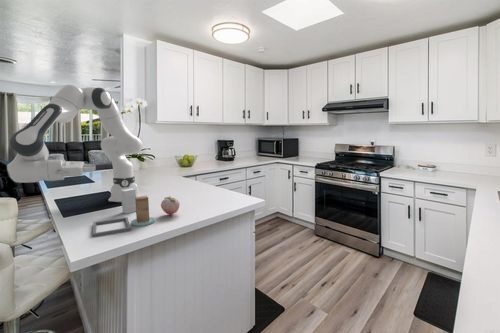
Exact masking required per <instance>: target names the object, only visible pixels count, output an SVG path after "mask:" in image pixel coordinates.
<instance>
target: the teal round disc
mask: <svg viewBox="0 0 500 333" xmlns="http://www.w3.org/2000/svg"><path fill="white" fill-rule="evenodd" d="M149 220H150V221H147V222H141V223H138V222H137V218H134V219H132V220H131V221H130V222H131V226H133V227H146V226H149V225H152V224H154V223H155V221H156V220H155V217H153V216H149Z"/></svg>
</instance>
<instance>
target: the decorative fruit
mask: <svg viewBox="0 0 500 333" xmlns="http://www.w3.org/2000/svg"><path fill="white" fill-rule="evenodd" d="M180 204H181V203H180V201H179V200H178V199H177V198H175V197H171V196H167V197H164V199H163V200H162V201H161V203H160V208H161V209H162V211H163V212H164V213H165V214H167V215H169V216H173V215H174V214H176V213H177V212H178V211H179V209H180V207H181V206H180Z"/></svg>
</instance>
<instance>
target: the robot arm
mask: <svg viewBox="0 0 500 333" xmlns="http://www.w3.org/2000/svg"><path fill="white" fill-rule="evenodd" d="M80 110H85V111H86V110H88V111H90V110H91V111H94V110H96V113H97V115H98V118H99V120H100V123H101V125H102V127H103V130H104V131H105V132H106V133H107V134H109V135H111V136H107V137H104V138H102V140H101V142H100V149H101V150H102V151H103V153H105V154H106V155H107V157H108V158H109V160H110V163H111V164H112V170H113V172H112V173H113V178H112V181H113V185H112V186H111V188H110V193H111V194H110V197H109V198H108V199H107V200H108V202H114V203H115V202H116V203H122V199H121V190H125V189H130V188H133V189H135V190H136V197H139V196H142V195H141V194H140V193H139V187H138V186H139V185H138V184H137V183H136V182H135V181H136V179H135V178H136V177H135V175H134V165H133V163H132V161H130V160H129V159H128V158H127V157H126V155H128V156H129V155H136V154H137V155H138V154H139V153H141V151H143V142H142V140H141V139H140V138H139V137H138V136H136V135H134V134H133V133H132V132H131V131H130V130H129V129H128V127H127V125H126V124H125V122H124V119H123V118H122V114H121V112H120V109H119V107H118V105H117V103H116V102H115V100H114V99H113V97H112V95H111V93H110V92H109V91H108V90H107V89H106V88H103V87H91V86H90V87H82V88H80V87H79V86H76V85H75V84H66V85H64V86H63V87H61V89H59V90H58V91H57V92H56V94H55V95H54V96H52V98H51V100H50V101H49V102H48V104H46V105H45V106H44V107H42V109H40V110H39V112H38V113H37V114H36V115H35V116H34V117H33V118H32V119H31V121H29V123H27V124H26V126H24V127H23V128H21V129H19V130H18V131H15V133H13V134H12V136H11V137H10V140H9V145H10V148H11V149H12V150H13V151H14V152H15V153H16V155H15V157H14V159H13V160H12V161H10V162H9V163H8V164H7V165H6V172H7V175H8V177H9V178H10V180H11V181H12V182H14V183H26V184H27V183H28V184H29V183H39V182H42V181H48V182H53V181H64V180H65V177H78V176H79V177H81V176H83V174H84V173H91V172H95V171H96V168H97V166H96V164H95V163H85V162H84V161H74V160H73V161H71V160H69V161H68V160H67V161H66V160H65V159H61V158H59V159H49V156H50V151H49V149H48V147H47V145H46V143H45V135H46V133H47V132H48V131H49V130H50V128H51V127H52V126H53V125H54V124H55V123H56V122H57V123H60V124H61V123H62V124H67V123H70V122H71V121H72V120H73V119H75V117H76V116H77V115H78V113H79V111H80Z"/></svg>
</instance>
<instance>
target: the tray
mask: <svg viewBox="0 0 500 333" xmlns="http://www.w3.org/2000/svg"><path fill="white" fill-rule="evenodd" d="M118 222H119V223H120V222H125V224H126V227H122V228H118V229H117V228H115V229H110V230H105V231H99V232H98V231H97V226H98V225H104V224H111V223H112V224H113V223H118ZM92 225H93V227H92V238H94V237H95V238H96V237H100V236H107V235H111V234H113V235H114V234H119V233H124V232H130V231H131V230H132V229H131V225H130V222H129V218H128V216H126V217H120V218H113V219H106V220H99V221H93V224H92Z"/></svg>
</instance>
